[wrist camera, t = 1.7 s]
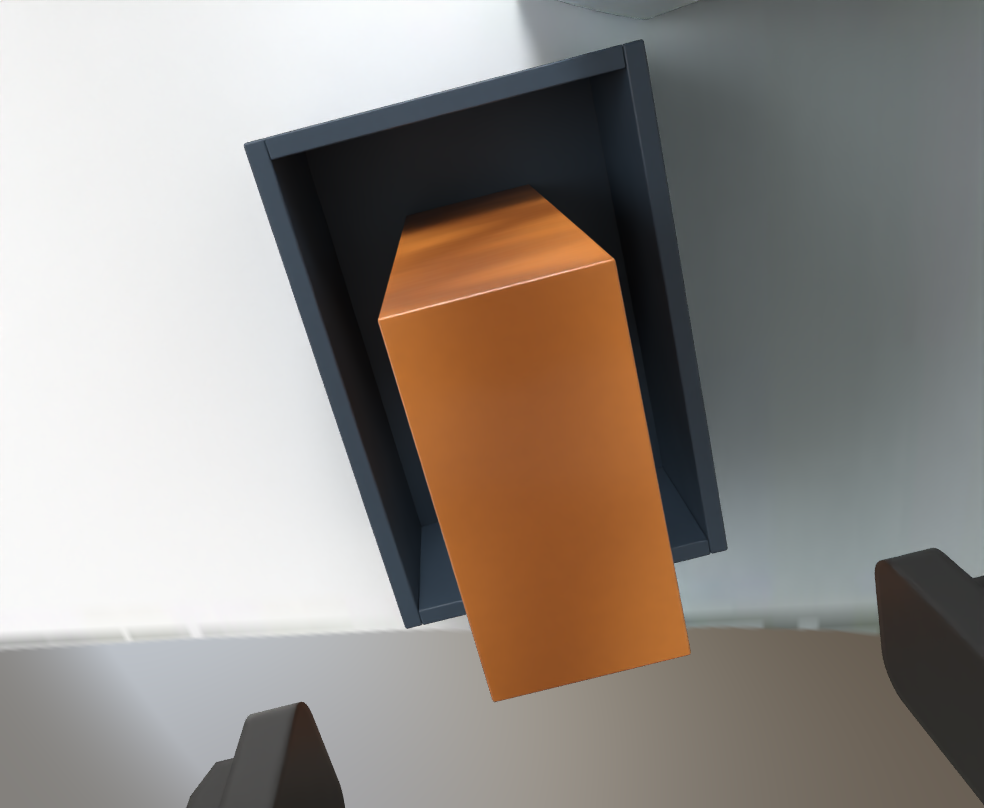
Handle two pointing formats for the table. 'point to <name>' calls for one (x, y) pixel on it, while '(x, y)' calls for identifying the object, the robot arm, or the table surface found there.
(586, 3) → the skincare box
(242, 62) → the table surface
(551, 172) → the tote
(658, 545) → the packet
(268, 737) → the robot arm
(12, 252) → the table surface
